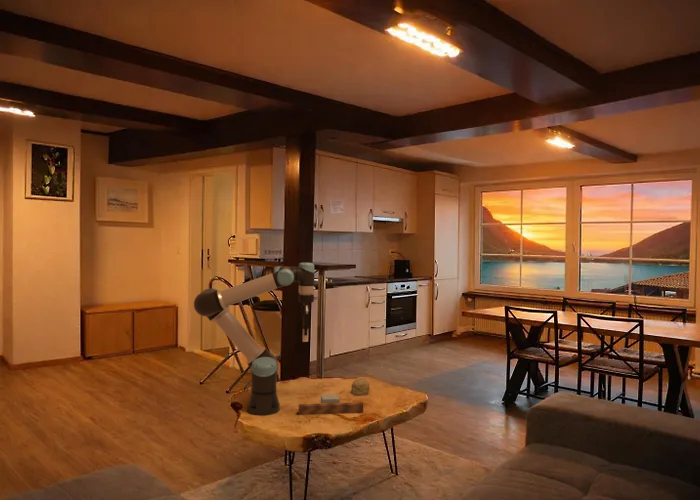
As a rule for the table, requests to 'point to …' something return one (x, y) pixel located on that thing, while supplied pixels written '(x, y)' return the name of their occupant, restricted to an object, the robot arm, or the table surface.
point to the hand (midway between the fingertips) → (305, 341)
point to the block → (330, 398)
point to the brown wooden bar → (330, 408)
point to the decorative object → (360, 387)
